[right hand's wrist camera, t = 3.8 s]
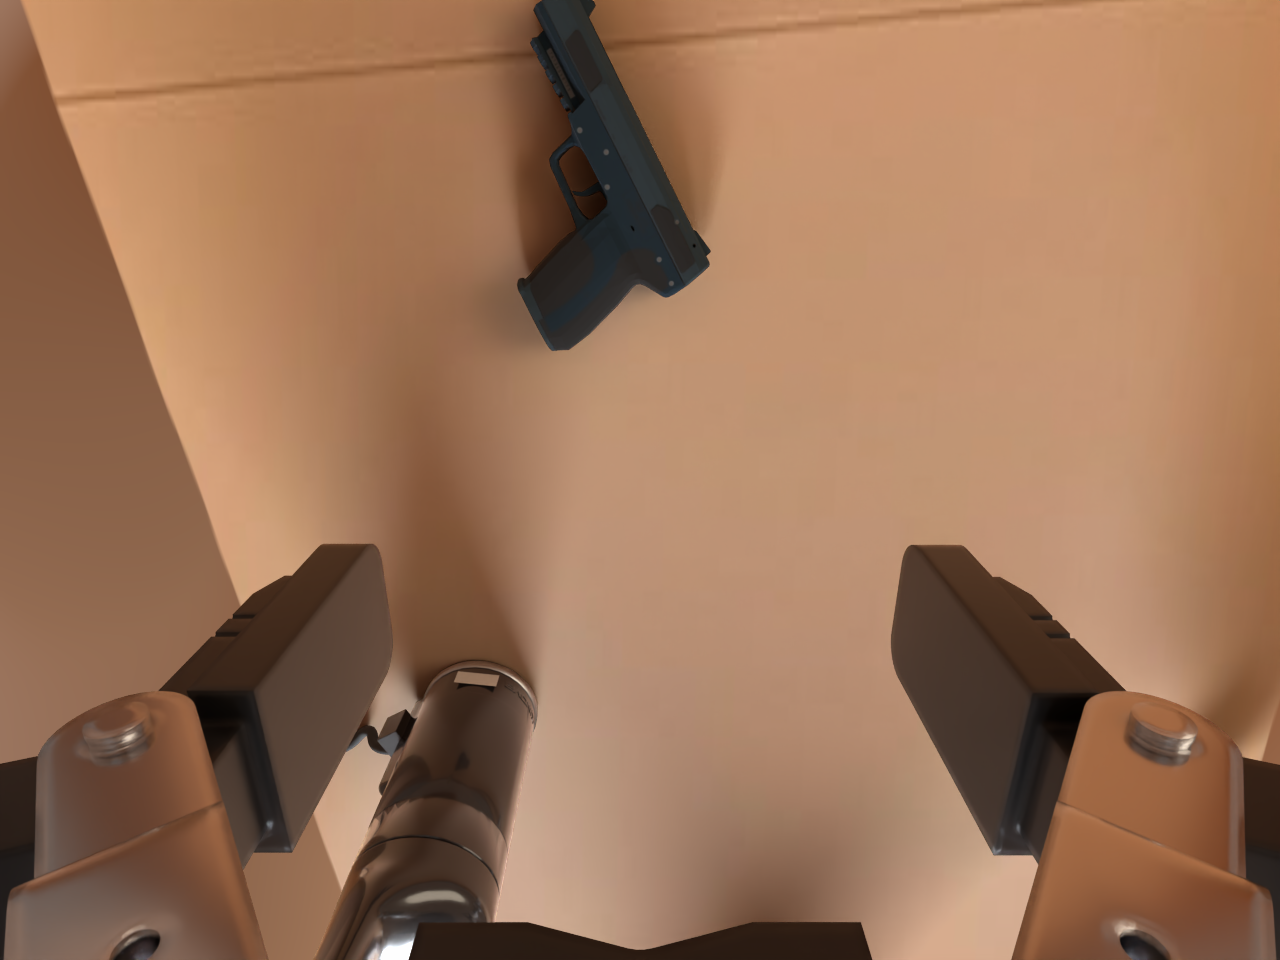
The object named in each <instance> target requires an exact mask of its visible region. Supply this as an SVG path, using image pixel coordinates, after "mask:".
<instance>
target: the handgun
mask: <svg viewBox="0 0 1280 960" xmlns="http://www.w3.org/2000/svg"><path fill="white" fill-rule="evenodd" d="M594 8H595V3H594V1H593V0H542V1H540V2H539V3H537V4H536V6H535V8H534V12H535V14H536V16H537V18H538V20H539V22H540V24H541V26H542V28H543V32H542V33H541V34H540V35H539V36H538V37H535V38H532V40H531V42H530V44H531V46H532V48H533V49H534V51H535V52H536V54H537V55H538V59H539V61H540V63H541V65H542V66H543V67H544V69H545V70H546V71H545V73H546V75H547V77H548V78H549V80H550V81H551V83H552V84H554V83H555V84H554V85H553V88H554V90H555V92H556V93H557V95H558V96H559V97H563V96H564V97H563V98H562V99H561V100H560V102H561V104H562V105H563V107H564V109H565V110H566V111H570V110H571V112H570V113H568V118H569V121H570V123H571V128H572V133H571V136H570V137H569V138H568V139H567V140H566V141H565V142H564V143H563V144H562V145H560V146H559V147H558V148H557V149H556V150H555V151H554V152H553V153H552V155H551V157H550V159H549V161H550V166H551V169H552V171H553V173H554V175H555V177H556V180H557V182H558V184H559V186H560V188H561V191H562V193H563V195H564V197H565V199H566V202H567V204H568V206H569V208H570V211H571V214H572V217H573V219H574V222H575V225H576V230H575V231H573V232H571V233H569V234H568V235H567V236H566V237H565V238H564V239H562V240H561V241H560V242H559V243H558V244H557V245H556V247H555V248H554V249H553V250H552V251H551V252H550V253H549V254H548V255H547V256H546V257H545V258H544V259H543V261H542V262H541V263H540V264H539V265H538V266H537V267H536V268H535V269H534V271H533V272H532V273H531V274H530V275H529V276H528V277H527V278H526V279H525V278H520V279H519V280H518V283H517V287H518V290H519V292H520V294H521V296H522V298H523V300H524V302H525V304H526V306H527V308H528V310H529V312H530V314H531V316H532V318H533V320H534V322H535V324H536V326H537V328H538V330H539V331H540V333H541V335H542V337H543V339H544V340H545V342H546V344H547V345H548V347H549V348H550V349H551V350H552V351H557V350H569V349H571V348H572V347H573V346H575V345H576V344H577V343H579V342H580V341H581V340H582V339H584V338H585V337H586V336H588V335H589V334H590V333H591V332H592V331H593V330H594V329H595V328H596V327H597V326H598V325H599V324H600V323H601V322H602V321H603V320H604V319H605V318H606V317H607V316H608V315H609V314H610V313H611V312H612V311H613V310H614V309H615V308H616V307H617V306H618V304H619V303H620V302H621V301H622V300H623V299H624V297H625V296H626V295H627V294H628V293H629V291H630V290H631V289H632V288H633V287H634V286H635V285H638V284H642V285H644V286H646V287H648V288H650V289H651V290H653V291H655V292H656V293H658V294H659V295H661V296H663V297H670V296H672V295H674V294H675V293H677V292H678V291H680V290H681V289H683V288H684V287H685V286H687V285H688V284H690V283H691V282H692V281H693V280H694V279H695V278H697V277H698V276H699V275H700V274H701V273H702V272H703V271H705V270H706V269H707V268H708V267H709V261H708V259H707V257H706V256H707V255H708V254H709V253H710V252H711V251H710V249H709V248H708V247H707V245H706V244H705V242H704V241H703V240H702V238H701V237H700V236H699V234H698V233H697V231H695V230H693V228H692V226H691V224H690V222H689V220H688V218H687V216H686V214H685V212H684V210H683V208H682V206H681V204H680V202H679V200H678V198H677V196H676V194H675V192H674V190H673V188H672V186H671V184H670V182H669V180H668V178H667V176H666V173H665V171H664V169H663V167H662V165H661V163H660V161H659V159H658V157H657V155H656V153H655V151H654V149H653V147H652V145H651V143H650V141H649V139H648V137H647V135H646V133H645V131H644V128H643V126H642V124H641V122H640V120H639V118H638V116H637V114H636V112H635V110H634V108H633V106H632V104H631V102H630V100H629V98H628V96H627V94H626V92H625V90H624V88H623V86H622V84H621V82H620V80H619V78H618V76H617V74H616V72H615V70H614V68H613V66H612V64H611V62H610V60H609V58H608V56H607V54H606V52H605V50H604V47H603V45H602V43H601V41H600V39H599V37H598V35H597V33H596V31H595V29H594V27H593V25H592V23H591V21H590V19H589V16H590V14H591V13H592V11H593V9H594ZM573 146H577V147H579V148H581V149H582V150H583V152H584V153H585V155H586V157H587V159H588V161H589V163H590V165H591V167H592V169H593V171H594V173H595V174H596V176H597V178H598V180H599V182H600V183H599V182H597V183H596V184H594V185H593V186H591V187H590V188H588V189H587V190H585V191H583V192H575V191H572V192H573V194H574V195H577V196H590V195H592V194H594V193H596V192H598V191H601V192H602V193H603V195H604V197H605V199H606V200H607V204H606V207H605V208H604V209H603V210H602V211H601V212H600V213H599V214H598V215H596V216H595V217H594V218H593V219H588V218H587V217H586V216H585V215H583V213H582V212H581V211H580V209H579V208H578V206H577V204H576V202H575V199H574V197H573V195H572V193H571V190H570V188H569V186H568V184H567V182H566V179H565V177H564V175H563V173H562V170H561V168H560V166H559V160H560V158H561V157H562V155H563V154H565V153H566V152H567V151H568V150H569V149H570V148H572V147H573Z"/></svg>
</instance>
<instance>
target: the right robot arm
mask: <svg viewBox="0 0 1280 960" xmlns="http://www.w3.org/2000/svg"><path fill="white" fill-rule="evenodd" d="M392 648H393V635H392V627H391V620H390V613H389V606H388V599H387V593H386V586H385V579H384V572H383V565H382V559H381V555H380V552H379V550H378V548H377V547H376V546H375V545H374V544H322V545H320V546H319V547H318V548H317V549H316V550H315V551H314V552H313V553H312V555H311V556H310V557H309V558H308V559H307V560H306V561H305V562H304V563H303V564H302V565H301V567H300V568H299V569H298V570H297V571H296V572H295V573H294V574H293V575H292V576H283V577H282V578H280V579H278V580H276V581H275V582H273V583H271V584H269V585H268V586H266V587H264V588H262V589H261V590H259V591H257V592H255V593H253V594H252V595H251V596H250V597H249V599H248V600H247V601H246V602H245V603H244V604H243V605H242V606H241V607H240V608H239V609H238V610H237V611H236V612H235V613H234V614H233V618H232V619H228V620H227V621H226V622H225V623H224V624H223V625H222V626H221V627H220V628H219V629H218V630H217V631H216V636H215V637H211V638H210V639H209V640H208V641H207V642H206V643H205V644H204V645H203V646H202V647H201V648H200V649H199V650H198V651H197V652H196V653H195V654H194V655H193V656H192V657H191V658H190V659H189V660H188V661H187V662H186V663H185V664H184V665H183V666H182V667H181V668H180V669H179V670H178V671H177V672H176V673H175V674H174V675H173V676H172V677H171V678H170V680H168V682H167V683H166V684H165V685H164V686H163V687H162V688H161V689H160V690H159V691H152V692H144V693H138V694H133V695H128V696H125V697H121V698H118V699H115V700H112V701H109V702H106V703H104V704H101V705H99V706H97V707H95V708H92V709H90V710H88V711H86V712H84V713H83V714H81V715H79V716H77V717H76V718H74V719H72V720H71V721H69V722H68V723H66V724H65V725H64V726H62V727H61V728H60V729H59V730H57V731H56V732H55V733H54V734H53V735H52V736H51V737H50V738H49V739H48V740H47V742H46V743H45V744H44V745H43V747H42V749H41V750H40V752H39V754H38V756H36V757H32V758H27V759H22V760H17V761H12V762H7V763H2V764H0V960H269V959H268V956H267V952H266V949H265V945H264V942H263V938H262V935H261V931H260V928H259V924H258V921H257V917H256V914H255V910H254V907H253V903H252V900H251V896H250V893H249V890H248V886H247V882H246V879H245V875H244V872H243V869H244V868H245V866H246V864H247V862H248V861H249V859H250V857H251V856H252V854H253V853H254V852H255V853H257V852H259V853H260V852H264V853H265V852H266V853H267V852H268V853H270V852H271V853H275V852H276V853H277V852H279V853H281V852H282V853H285V852H289V853H291V852H293V850H294V848H295V846H296V844H297V842H298V840H299V838H300V837H301V835H302V833H303V831H304V829H305V827H306V825H307V823H308V821H309V820H310V818H311V816H312V814H313V812H314V810H315V808H316V806H317V805H318V803H319V801H320V799H321V797H322V795H323V793H324V791H325V789H326V788H327V786H328V784H329V782H330V780H331V778H332V776H333V774H334V773H335V771H336V769H337V767H338V765H339V763H340V761H341V759H342V757H343V756H344V754H345V752H346V751H349V750H350V749H352V748H354V747H355V746H356V745H357V744H358V743H359V742H360V741H361V740H362V739H363V738H364V737H365V736H367V738H368V743H369V746H370V747H371V749H372V750H374V751H375V752H377V753H380V754H386V755H390V756H391V760H390V762H389V764H388V766H387V769H386V771H385V773H384V775H383V778H382V780H381V782H380V785H379V792H380V794H381V795H382V798H381V800H380V802H379V805H378V807H377V809H376V812H375V814H374V816H373V819H372V821H371V823H370V826H369V828H368V831H367V833H366V835H365V838H364V840H363V842H362V845H361V847H360V849H359V852H358V854H357V856H356V859H355V861H354V863H353V866H352V868H351V870H350V873H349V875H348V877H347V880H346V882H345V885H344V887H343V890H342V892H341V895H340V897H339V900H338V902H337V905H336V907H335V910H334V912H333V915H332V917H331V920H330V922H329V925H328V927H327V929H326V932H325V934H324V936H323V939H322V941H321V943H320V945H319V948H318V950H317V952H316V955H315V956H314V959H313V960H872V957H871V954H870V951H869V948H868V944H867V941H866V938H865V934H864V931H863V928H862V925H861V922H752V923H748V924H744V925H740V926H737V927H733V928H729V929H725V930H721V931H717V932H713V933H710V934H706V935H702V936H698V937H694V938H690V939H687V940H683V941H679V942H675V943H671V944H667V945H664V946H660V947H656V948H652V949H646V950H634V949H628V948H624V947H620V946H616V945H613V944H609V943H605V942H601V941H597V940H593V939H590V938H586V937H582V936H578V935H574V934H570V933H567V932H563V931H559V930H555V929H551V928H547V927H543V926H540V925H536V924H532V923H528V922H495V920H496V915H497V910H498V904H499V900H500V895H501V890H502V885H503V880H504V875H505V870H506V865H507V859H508V854H509V849H510V844H511V839H512V834H513V829H514V824H515V819H516V814H517V809H518V804H519V799H520V794H521V789H522V784H523V779H524V774H525V769H526V764H527V759H528V754H529V749H530V744H531V739H532V734H533V731H534V729H535V725H536V721H537V715H538V706H537V701H536V698H535V695H534V693H533V691H532V689H531V688H530V686H529V685H528V684H527V682H526V681H525V680H524V679H523V678H522V677H521V676H519V675H518V674H517V673H515V672H514V671H512V670H510V669H509V668H506V667H504V666H502V665H499V664H496V663H492V662H487V661H467V662H461V663H458V664H455V665H452V666H450V667H448V668H446V669H444V670H443V671H441V672H440V673H439V674H438V675H436V677H435V678H434V679H433V680H432V681H431V683H430V684H429V686H428V688H427V690H426V693H425V695H424V698H423V699H421V700H419V701H417V702H416V703H415V706H414V708H413V710H412V712H411V715H410V714H409V712H408V711H407V710H406V709H405V710H403V711H401V712H399V713H397V714H395V715H393V716H391V717H388V718H387V720H386V722H385V724H384V727H383V729H382V731H381V733H380V735H379V737H378V733H377V731H376V729H375V728H374V727H373V726H364V727H362V728H360V729H359V730H358V731H357V729H358V727H359V725H360V724H361V722H362V720H363V718H364V716H365V714H366V712H367V710H368V709H369V707H370V705H371V703H372V701H373V699H374V697H375V695H376V693H377V692H378V690H379V688H380V686H381V684H382V682H383V680H384V678H385V677H386V674H387V672H388V669H389V666H390V662H391V657H392ZM891 652H892V659H893V664H894V668H895V671H896V674H897V676H898V678H899V680H900V682H901V684H902V686H903V687H904V689H905V691H906V693H907V695H908V697H909V699H910V700H911V702H912V704H913V706H914V708H915V710H916V712H917V713H918V715H919V717H920V719H921V721H922V723H923V725H924V726H925V728H926V730H927V732H928V734H929V736H930V738H931V740H932V741H933V743H934V745H935V747H936V749H937V751H938V753H939V754H940V756H941V758H942V760H943V762H944V764H945V766H946V767H947V769H948V771H949V773H950V775H951V777H952V779H953V780H954V782H955V784H956V786H957V788H958V790H959V792H960V793H961V795H962V797H963V799H964V801H965V803H966V805H967V806H968V808H969V810H970V812H971V814H972V816H973V818H974V820H975V821H976V823H977V825H978V827H979V829H980V831H981V833H982V834H983V836H984V838H985V840H986V842H987V844H988V846H989V847H990V849H991V851H992V853H993V855H1033V856H1034V858H1035V860H1036V861H1037V863H1038V869H1037V872H1036V875H1035V879H1034V882H1033V886H1032V889H1031V893H1030V896H1029V900H1028V903H1027V907H1026V910H1025V914H1024V917H1023V921H1022V924H1021V928H1020V931H1019V935H1018V938H1017V942H1016V945H1015V949H1014V952H1013V956H1012V959H1011V960H1280V765H1277V764H1272V763H1268V762H1263V761H1258V760H1253V759H1248V758H1244V757H1242V754H1241V752H1240V750H1239V748H1238V747H1237V745H1236V744H1235V743H1234V742H1233V740H1232V739H1231V738H1230V737H1229V736H1228V735H1227V734H1226V733H1225V732H1224V731H1223V730H1221V729H1220V728H1219V727H1218V726H1216V725H1215V724H1214V723H1212V722H1211V721H1209V720H1208V719H1206V718H1204V717H1203V716H1201V715H1199V714H1197V713H1196V712H1194V711H1192V710H1190V709H1188V708H1185V707H1183V706H1181V705H1179V704H1176V703H1174V702H1171V701H1168V700H1165V699H1162V698H1159V697H1155V696H1152V695H1147V694H1142V693H1136V692H1128V691H1126V690H1125V689H1124V688H1123V687H1122V686H1121V685H1120V684H1119V683H1118V682H1117V681H1116V680H1115V679H1114V678H1113V677H1112V676H1111V675H1110V674H1109V673H1108V672H1107V671H1106V670H1105V669H1104V668H1103V667H1102V666H1101V665H1100V664H1099V663H1098V662H1097V661H1096V660H1095V659H1094V658H1093V657H1092V656H1091V655H1090V654H1089V653H1088V652H1087V651H1086V650H1085V649H1084V648H1083V647H1082V646H1081V645H1080V644H1079V643H1078V642H1077V641H1076V640H1075V639H1074V638H1070V633H1069V632H1068V631H1067V630H1066V629H1065V628H1064V627H1063V626H1062V625H1061V624H1060V623H1059V622H1058V621H1057V620H1053V619H1052V615H1051V614H1050V613H1049V612H1048V611H1047V610H1046V609H1045V608H1044V607H1043V606H1042V605H1041V604H1040V603H1039V602H1038V601H1037V600H1036V599H1035V598H1034V597H1033V596H1032V595H1031V594H1029V593H1027V592H1025V591H1024V590H1022V589H1020V588H1018V587H1017V586H1015V585H1013V584H1011V583H1010V582H1008V581H1006V580H1004V579H1002V578H1001V577H992V576H991V575H990V573H989V572H988V571H987V570H986V569H985V568H984V567H983V566H982V565H981V564H980V563H979V562H978V561H977V559H976V558H975V557H974V556H973V555H972V554H971V553H970V552H969V551H968V550H967V549H966V548H965V547H964V546H962V545H910V546H909V547H908V548H907V549H906V551H905V553H904V556H903V560H902V566H901V573H900V580H899V586H898V593H897V600H896V606H895V613H894V620H893V627H892V634H891ZM356 731H357V732H356Z"/></svg>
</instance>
